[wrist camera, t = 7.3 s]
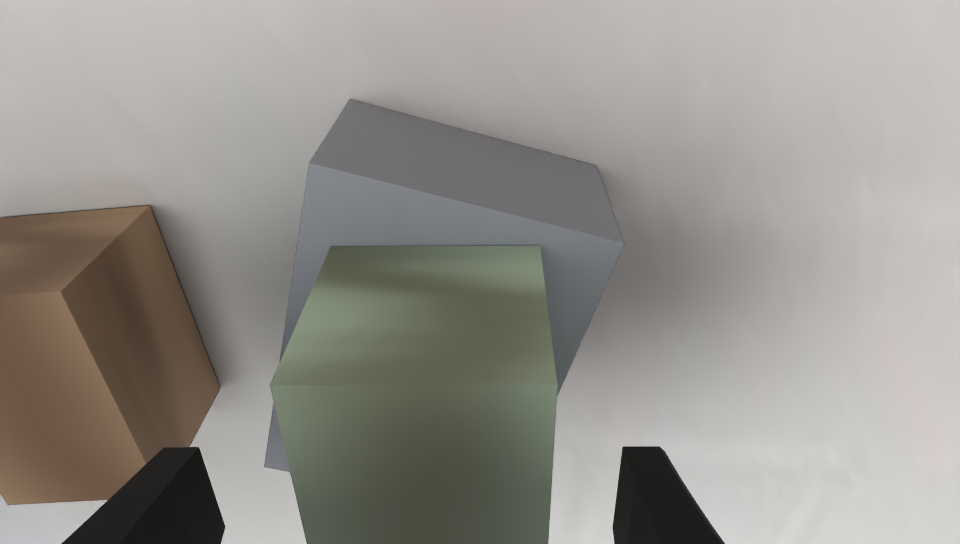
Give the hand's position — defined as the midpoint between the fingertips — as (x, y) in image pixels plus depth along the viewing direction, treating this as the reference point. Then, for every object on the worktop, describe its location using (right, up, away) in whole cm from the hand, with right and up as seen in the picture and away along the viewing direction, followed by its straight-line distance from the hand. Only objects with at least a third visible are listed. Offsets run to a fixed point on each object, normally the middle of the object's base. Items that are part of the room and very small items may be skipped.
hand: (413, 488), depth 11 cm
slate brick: (0, +4, +6) cm, 7 cm away
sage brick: (0, +2, +3) cm, 3 cm away
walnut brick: (-9, +3, +7) cm, 12 cm away
